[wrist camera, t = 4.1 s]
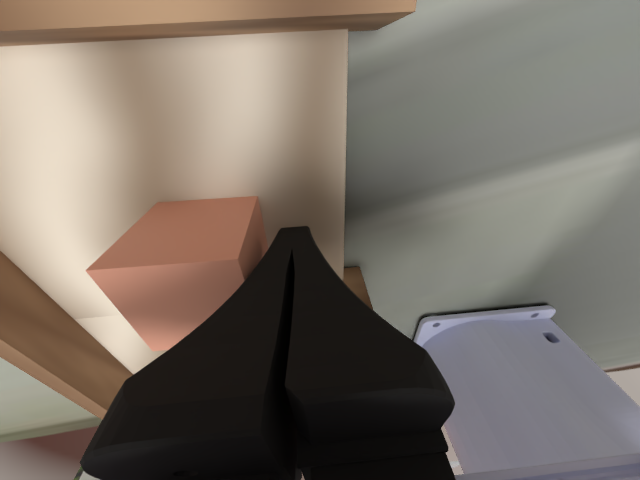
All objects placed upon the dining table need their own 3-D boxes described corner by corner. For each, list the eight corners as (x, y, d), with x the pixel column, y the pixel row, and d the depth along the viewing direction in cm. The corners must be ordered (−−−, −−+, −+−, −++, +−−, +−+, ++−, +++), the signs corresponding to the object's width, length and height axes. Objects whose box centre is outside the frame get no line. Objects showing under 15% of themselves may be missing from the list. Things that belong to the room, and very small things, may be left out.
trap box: (379, -17, 7) (425, -63, 4) (350, 390, 23) (357, 428, 20) (-262, 11, 6) (-619, -25, 4) (169, 409, 22) (154, 451, 20)
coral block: (257, 195, 10) (237, 259, 6) (272, 268, 12) (263, 341, 9) (157, 202, 10) (85, 270, 6) (192, 274, 12) (152, 351, 9)
